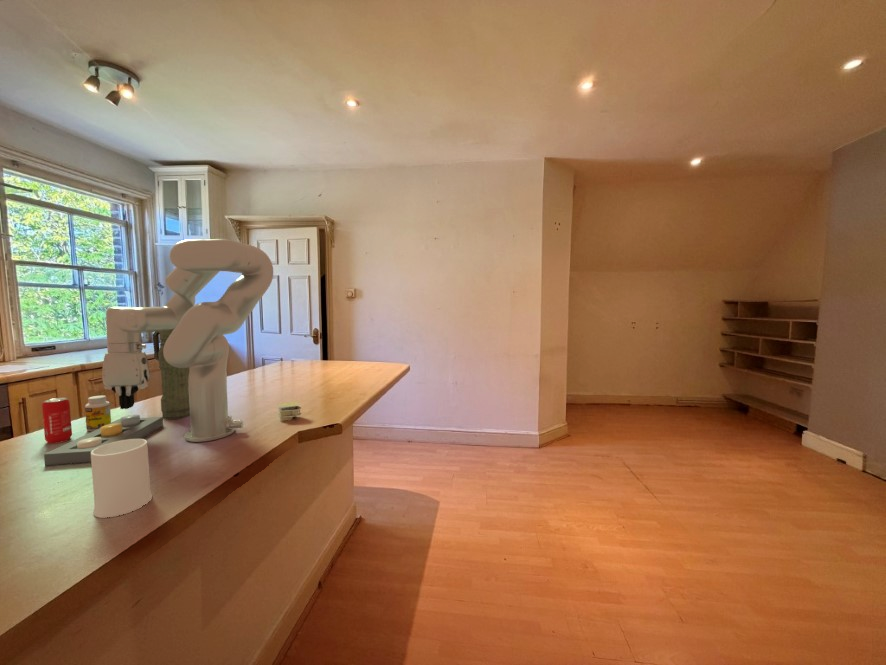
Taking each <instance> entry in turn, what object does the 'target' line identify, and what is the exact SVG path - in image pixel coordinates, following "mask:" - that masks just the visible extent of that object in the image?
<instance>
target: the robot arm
mask: <svg viewBox="0 0 886 665" xmlns="http://www.w3.org/2000/svg"><path fill="white" fill-rule="evenodd" d="M169 260H170V263H172V265H173V266H174V267H175V268H174V269H172V271H171V272H169V274H167V275H166V277H165V279H164V282H165V285H166V286H167V288H169V290H170V291H172V292H173V293H174V294H173V296H172V297H171V298H170V300H169V301H168V302H166V303H165V304H164V305H163V306H148V307H147V306H146V307H145V306H142V307H134V306H111V307H108V308H107V309H106V311H105V320H106V322H105V323H106V344H107V345H106V347H107V352H104V353H105V354H104V357H103V361H102V362H103V363H102V370H101V372H102V373H101V374H102V376H101V378H102V383H103V389H105V390H108V391H113V392H114V393H115V394H116V396H117V397H118V399H119V400H118V404H119V406H120V407H119V408H120V410H128V409H130V408H133V407H134V405H135V394H136V393H137V392H138V391H139V390H144V389H146V388H148V387H149V385H148V384H149V383H148V382H150V379H151V375H150V366H149V360H148V356H147V354H146V351H143V349H147V344H143V342H142V334H146V333H154V332H157V331H168V330H172V329H174V330H173V331H172V333H171V334H170V336H169V337H168V339H167V340H166V342H165V345H164V349H163V354H164V358H165V360H166V361H167V362H168V363H169V364H170V365H171V366H174V367H177V368H188V367H190V368H189V379H188V383H189V405H190V416H189V422H190V424H189V425H190V430H188V431H186V432H185V434H184V440H185V441H187V442H190V443H191V442H193V443H199V442H200V443H201V442H210V441H215V440H218V439H223V438H225V437H228V436H229V435H231V434H233V433H234V432H235V429H241V428H243V427H244V422H243V420H242V419H236V420H234V419H232V418H233V416H232V415H229V408H228V407H229V405H228V403H229V402H228V381H227V380H228V378H227V377H228V376H227V374H228V373H227V372H228V371H227V367H228V359H229V354H230V344H229V341H228V339H227V337H226V335H229V334H231V335H232V334H234V333H236V332H238V330H240V329H241V327H242V325H244V323H245V322H246V320H247V319H248V317H249V316H250V314H251V313H252V311H253V310H254V309H255V308H256V306H257V304H258V303H259V302H260V300H261V299H262V298H263V296H264V295H265V294H266V292H267V291H268V289H269V287H270V286H271V284H272V281H273V279H274V267H273V263H272V260H271V259H270V257H269V256H268V254H267V253H266V252H265V251H264V250H262V249H260V248H258V247H256V246H255V245H251V244H247V243H243V242H240V241H237V240H233V239H226V238H213V239H212V238H211V239H210V238H208V239H205V238H202V239H198V238H197V239H184V240H181V241H178V242H176V243H175V244H174V245H173V246H172V248H171V249H170V251H169ZM220 272H230V273H237V274H240V276H239V277H238V278H237V279H235V280H234V281H233V282H232V283H230V285H229V286H228V287H227V289H226V290H225V292H223V294H222V296H221V297H220V298H219V299H217V300H216V301H203V302H199V303H197V304H196V297H197V295H198V294H199V293H200V292H201V291H202V290H203V289H204V288H205V287H206V286H207V285H208V284H209V283H211V281H212V280H213V279H214V278H215V277H216V276H217V275H218V274H219V273H220Z"/></svg>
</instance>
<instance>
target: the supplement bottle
mask: <svg viewBox="0 0 886 665" xmlns="http://www.w3.org/2000/svg"><path fill="white" fill-rule="evenodd" d="M87 400H88V401H87V402H88V403H86V404H85V406H84V412H85V425H86V431H87V432H93V431H95V430H97V429H99V428H101V427H102V426H105V425H108V424H110V423H112V416H111V403H110V402H109V401H107V397H106V395H95V396H90V397H88V398H87Z"/></svg>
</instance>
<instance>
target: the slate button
mask: <svg viewBox="0 0 886 665" xmlns="http://www.w3.org/2000/svg"><path fill="white" fill-rule="evenodd" d="M140 418H141V416H140V414H128V415H125V416H121V417H120V418H119V419H120V421H121V424H122V426H136V425H138V424H139V423H140Z"/></svg>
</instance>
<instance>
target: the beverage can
mask: <svg viewBox="0 0 886 665" xmlns="http://www.w3.org/2000/svg"><path fill="white" fill-rule="evenodd" d="M41 408H42V410H41V411H42V419H43V432H44V434H43V435H44V440H45V441H46V442H47V444H49V445H52V444H59V443H63V442H67V441H69V440H70V439H71V437H72V435H73V430H72V417H71V415H72V414H71V404H70V400H69V398H68V397H56V398H55V397H54V398H50V399H46V400H43V401H42V404H41Z"/></svg>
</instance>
